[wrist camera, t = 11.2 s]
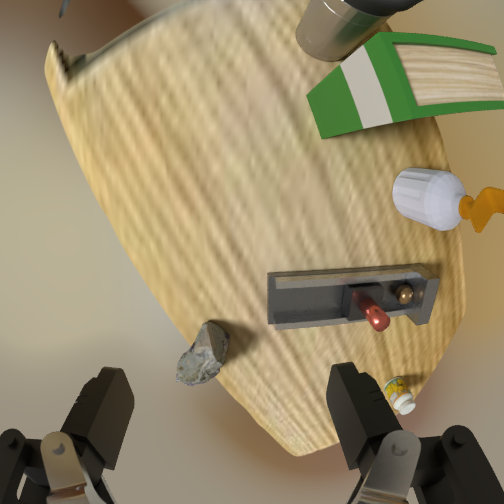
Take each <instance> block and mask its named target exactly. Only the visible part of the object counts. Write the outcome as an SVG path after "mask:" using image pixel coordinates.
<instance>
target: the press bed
mask: <svg viewBox="0 0 504 504" xmlns="http://www.w3.org/2000/svg"><path fill="white" fill-rule="evenodd" d="M439 280H440V278H438V277H437V276H436V275H434V274H433V273H431V272H430V271H428V270H427V269H425V268H424V266H423V265H421V264H420V263H419V264H406V265H393V266H379V267H364V268H349V269H332V270H315V271H296V272H276V273H267V320H268V324H274V325H275V330H283V329H296V328H308V327H318V326H328V325H337V324H346V323H354V322H361V321H368V320H367V319H363V320H355V321H348V320H347V319H346V317H345V316H344V314H343V313H342V304H343V296H344V288H345V284H358V283H369V282H379V283H380V284H381V285H382V286H383V287H384V288H385V290H384V295H383V301H382V306H381V309H382V310H383V311H384V312H385V313H386V314H387V315H388V316H389V317H395V316H401V315H407V316H408V317H409V318H410V319H411V320H412V321H413V323H414V324H415V325H416V326H417V325H422V324H426V323H428V322H429V319H430V316H431V312H432V309H433V305H434V301H435V297H436V293H437V289H438V285H439Z"/></svg>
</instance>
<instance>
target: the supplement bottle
mask: <svg viewBox="0 0 504 504" xmlns="http://www.w3.org/2000/svg"><path fill="white" fill-rule="evenodd" d="M384 391H385V393H386V395H387V396H388V398H389V400H390V401H391V403H392V405H393V407H394V408H395V409H397V410H399V411H400V413H401V414H403V415H404V414H407V413H409V412H410V411H412V410H413V409H414V407H415V403H414V401H413V395H412V393H411V391H410V390H409V389H408V387H407V386H406V384H405V383H404V381H403V380H402V378H401V377H395V378H392V379H390V380H389V381H388V382H387V383H386V384H385V386H384Z"/></svg>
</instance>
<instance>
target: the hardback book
mask: <svg viewBox="0 0 504 504" xmlns="http://www.w3.org/2000/svg"><path fill="white" fill-rule="evenodd" d="M495 54H497V53H496V50H495V48H494V47H493V46H490V45H485V44H482V43H477V42H473V41H468V40H462V39H457V38H451V37H444V36H436V35H427V34H416V33H399V32H378V33H377V34H375V35H374V36H373V37H372V38H371V39H369V40H368V41H367V42H366V43H364V44H363V45H362V46H361V47H360V48H358V49H357V50H356V51H355V52H354V53H353V54H351V55H350V56H349V57H348V58H347V59H346V60H344V61H343V62H342V63H341V64H340V65H339V66H338V67H336V68H335V69H334V70H333V71H332V72H331V73H330V74H329V75H328V76H326V77H325V78H324V79H323V80H322V81H321V82H320V83H319V84H318V85H317V86H316V87H315V88H314V89H312V90H311V91H310V92H309V93H308V94H307V95H306V96H307V99H308V102H309V104H310V107H311V110H312V112H313V115H314V118H315V121H316V124H317V127H318V130H319V133H320V136H321V139H325V138H328V137H332V136H336V135H340V134H344V133H349V132H353V131H357V130H362V129H366V128H371V127H375V126H380V125H385V124H390V123H395V122H401V121H406V120H412V119H418V118H424V117H431V116H438V115H445V114H452V113H461V112H471V111H482V110H497V109H504V90H503V87H502V84H501V81H500V78H499V75H498V72H497V69H496V66H495V64H494V61H493V59H492V56H491V55H495Z"/></svg>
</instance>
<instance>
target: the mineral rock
mask: <svg viewBox="0 0 504 504" xmlns="http://www.w3.org/2000/svg"><path fill="white" fill-rule="evenodd" d="M229 337H230V336H229V335H228V334H227V333H225V332H224V331H223V329H222V328H221V327H220V326H218V325H217V324H214V323H211V322H205V323H203V324H202V327H201V330H200V332H199V334H198V335H197V337H196V341H195V342H194V343H193V345H192V346H191V347H190V349H189V350H188V351H187V352H186V353H184V354H183V355H182V357H181V359H180V360H179V362H178V366H177V377H176V382H183V383H184V384H187V385H189V386H193V385H198V384H202V383H205V382H207V381H209V380H210V379H211V378H213V377H215V376H216V375H217V374H218V373H219V372H220V368H221V367H222V366H223V364H224V361H225V354H226V351H227V349H228V341H229Z"/></svg>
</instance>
